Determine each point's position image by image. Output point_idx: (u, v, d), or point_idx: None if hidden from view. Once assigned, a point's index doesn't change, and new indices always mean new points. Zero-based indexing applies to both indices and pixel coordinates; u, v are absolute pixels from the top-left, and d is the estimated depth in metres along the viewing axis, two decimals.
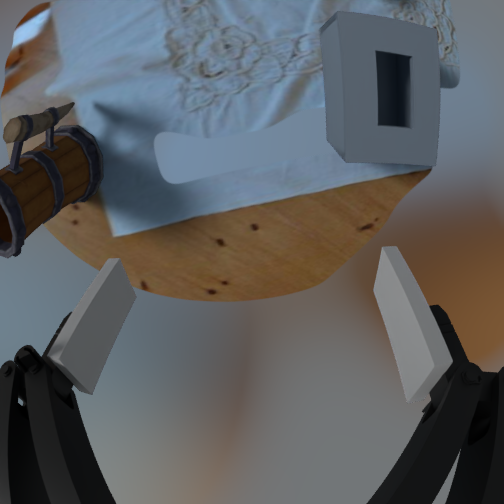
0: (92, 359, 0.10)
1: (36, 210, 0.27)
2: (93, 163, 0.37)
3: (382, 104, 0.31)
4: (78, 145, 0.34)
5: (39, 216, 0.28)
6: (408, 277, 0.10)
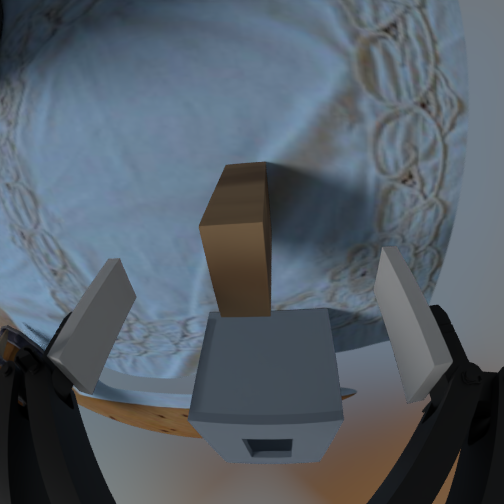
0: (92, 359, 0.10)
1: None
2: None
3: None
4: None
5: None
6: (408, 277, 0.10)
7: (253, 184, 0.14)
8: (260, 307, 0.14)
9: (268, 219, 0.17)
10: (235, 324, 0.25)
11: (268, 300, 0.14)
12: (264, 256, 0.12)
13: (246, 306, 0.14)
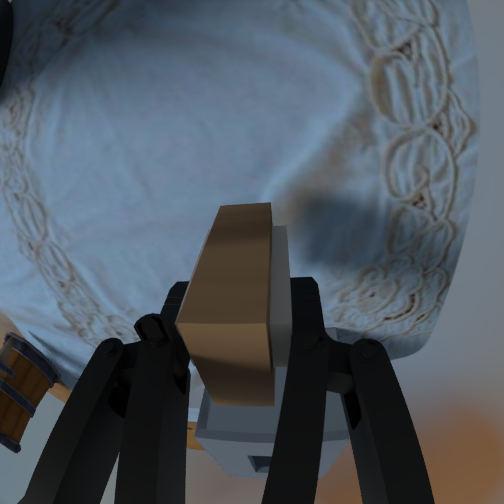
0: None
1: (20, 430, 0.26)
2: (48, 374, 0.37)
3: None
4: (31, 364, 0.34)
5: (23, 429, 0.28)
6: (282, 250, 0.12)
7: (254, 243, 0.11)
8: (262, 399, 0.10)
9: None
10: None
11: (272, 394, 0.10)
12: (267, 357, 0.08)
13: (245, 398, 0.10)
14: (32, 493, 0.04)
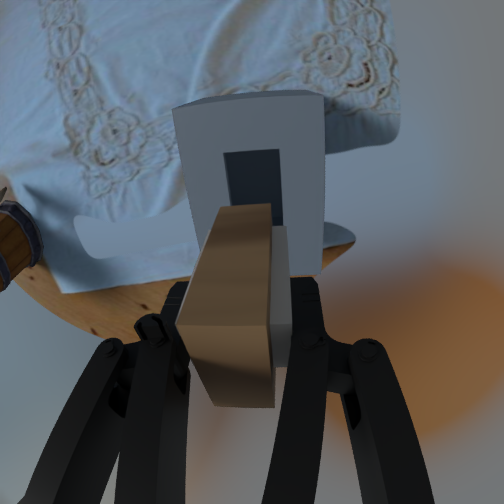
0: None
1: None
2: (32, 238, 0.38)
3: None
4: (17, 224, 0.35)
5: None
6: (282, 250, 0.12)
7: (254, 245, 0.11)
8: (262, 401, 0.10)
9: None
10: (225, 95, 0.26)
11: (272, 396, 0.10)
12: (268, 359, 0.08)
13: (245, 399, 0.10)
14: (32, 493, 0.04)
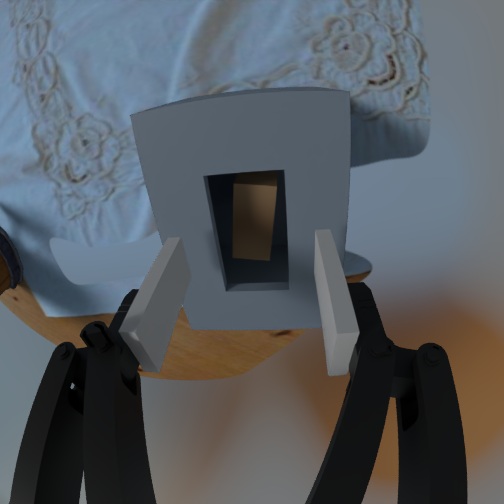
0: (160, 335, 0.11)
1: None
2: (9, 260, 0.32)
3: None
4: None
5: None
6: (332, 255, 0.12)
7: None
8: (263, 251, 0.19)
9: None
10: (213, 94, 0.20)
11: (270, 246, 0.19)
12: (273, 211, 0.17)
13: (253, 249, 0.19)
14: (16, 498, 0.03)
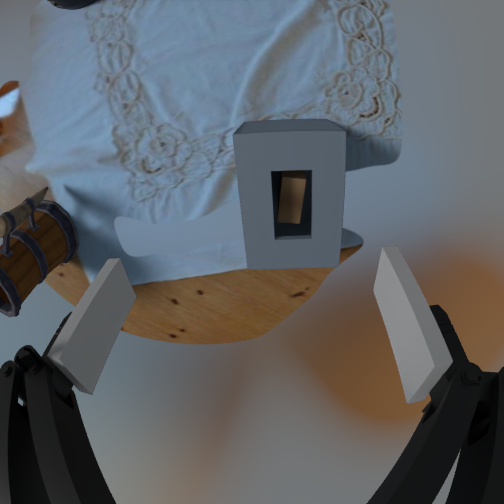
0: (92, 359, 0.10)
1: (27, 284, 0.35)
2: (69, 236, 0.45)
3: (306, 192, 0.39)
4: (55, 222, 0.42)
5: (30, 287, 0.36)
6: (408, 277, 0.10)
7: None
8: (296, 218, 0.32)
9: None
10: (263, 121, 0.33)
11: (300, 214, 0.32)
12: (303, 193, 0.31)
13: (290, 216, 0.32)
14: None
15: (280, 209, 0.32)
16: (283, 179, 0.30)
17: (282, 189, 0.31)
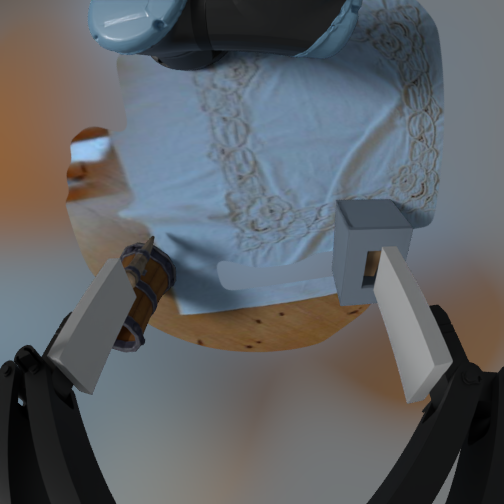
0: (92, 359, 0.10)
1: (146, 323, 0.50)
2: (170, 275, 0.60)
3: None
4: (159, 265, 0.57)
5: (146, 325, 0.51)
6: (408, 277, 0.10)
7: None
8: (372, 273, 0.47)
9: None
10: (351, 203, 0.48)
11: (375, 271, 0.47)
12: (379, 259, 0.46)
13: (369, 272, 0.47)
14: None
15: None
16: (369, 251, 0.45)
17: (368, 257, 0.46)
